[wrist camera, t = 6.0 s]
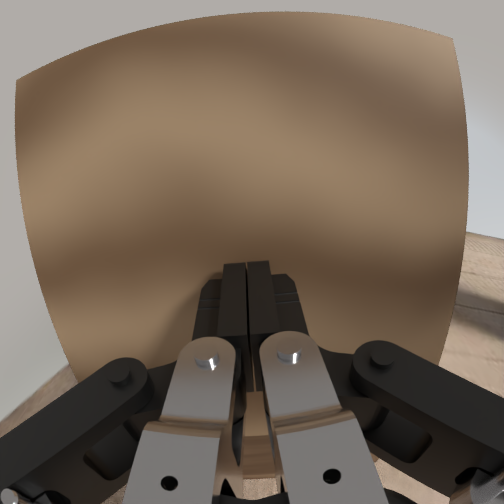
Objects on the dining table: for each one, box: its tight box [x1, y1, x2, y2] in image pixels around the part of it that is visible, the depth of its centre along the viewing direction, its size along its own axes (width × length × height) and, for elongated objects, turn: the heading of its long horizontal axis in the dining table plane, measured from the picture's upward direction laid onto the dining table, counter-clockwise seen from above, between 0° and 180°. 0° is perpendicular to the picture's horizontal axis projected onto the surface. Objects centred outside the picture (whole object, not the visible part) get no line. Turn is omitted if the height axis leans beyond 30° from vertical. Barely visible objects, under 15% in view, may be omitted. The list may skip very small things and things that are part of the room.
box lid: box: [15, 12, 469, 436], centre depth 11 cm, size 18×18×1 cm
